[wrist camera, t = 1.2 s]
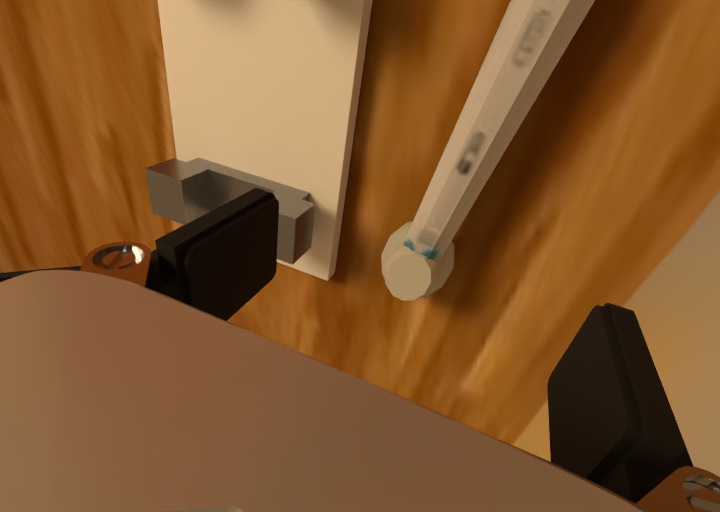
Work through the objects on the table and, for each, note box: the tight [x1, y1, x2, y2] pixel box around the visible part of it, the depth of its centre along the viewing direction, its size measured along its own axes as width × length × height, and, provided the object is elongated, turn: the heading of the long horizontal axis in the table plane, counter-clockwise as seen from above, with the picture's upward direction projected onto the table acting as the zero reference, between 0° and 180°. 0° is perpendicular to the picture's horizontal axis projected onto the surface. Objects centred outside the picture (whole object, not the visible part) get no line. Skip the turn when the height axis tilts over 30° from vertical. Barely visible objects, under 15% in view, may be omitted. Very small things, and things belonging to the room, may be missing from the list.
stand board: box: [158, 0, 373, 281], centre depth 29 cm, size 30×16×2 cm, turn 171°
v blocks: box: [145, 158, 315, 265], centre depth 26 cm, size 22×14×4 cm, turn 171°
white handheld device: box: [381, 0, 595, 301], centre depth 24 cm, size 5×7×25 cm
